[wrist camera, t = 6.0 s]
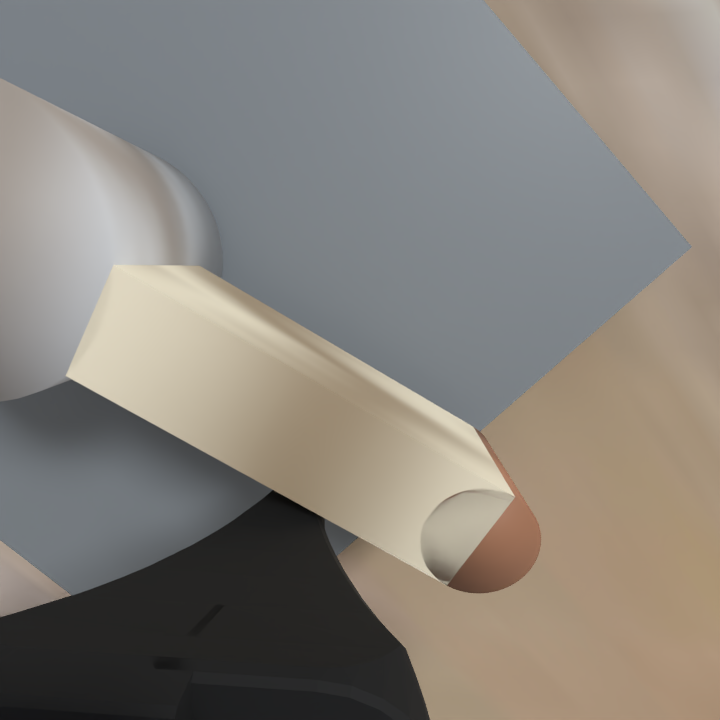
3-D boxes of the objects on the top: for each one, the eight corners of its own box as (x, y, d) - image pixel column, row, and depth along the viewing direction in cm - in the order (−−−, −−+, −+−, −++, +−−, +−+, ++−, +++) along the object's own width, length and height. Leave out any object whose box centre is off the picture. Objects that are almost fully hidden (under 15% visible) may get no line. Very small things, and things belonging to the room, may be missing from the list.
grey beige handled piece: (3, 287, 11) (-247, 301, 6) (71, 103, 10) (-174, -26, 5) (421, 522, 12) (447, 669, 7) (525, 379, 11) (625, 455, 6)
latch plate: (-280, 260, 13) (-365, 259, 11) (87, -405, 9) (31, -535, 8) (206, 644, 15) (188, 684, 14) (652, 249, 12) (692, 246, 10)
